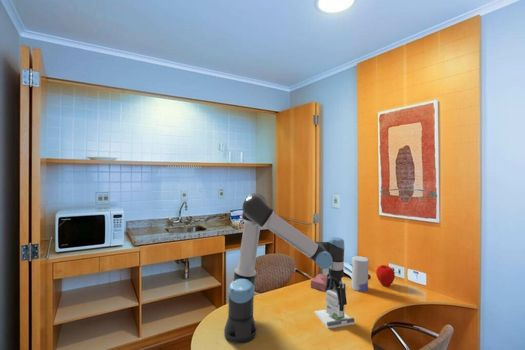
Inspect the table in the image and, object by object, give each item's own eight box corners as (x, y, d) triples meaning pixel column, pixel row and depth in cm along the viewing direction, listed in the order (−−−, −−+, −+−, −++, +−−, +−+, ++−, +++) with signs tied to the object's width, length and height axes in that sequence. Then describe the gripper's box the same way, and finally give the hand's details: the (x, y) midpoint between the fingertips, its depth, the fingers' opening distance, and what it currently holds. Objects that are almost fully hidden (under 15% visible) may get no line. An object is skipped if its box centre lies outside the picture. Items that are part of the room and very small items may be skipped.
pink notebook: (310, 288, 173) (310, 281, 173) (319, 280, 186) (319, 273, 185) (331, 294, 165) (331, 286, 165) (339, 286, 177) (339, 278, 177)
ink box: (344, 317, 135) (345, 294, 134) (338, 320, 132) (338, 297, 132) (331, 309, 142) (332, 288, 141) (325, 312, 139) (325, 290, 139)
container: (354, 283, 180) (355, 254, 180) (369, 287, 175) (370, 258, 174) (349, 289, 172) (350, 258, 172) (365, 293, 167) (366, 262, 166)
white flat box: (328, 328, 129) (328, 323, 129) (314, 313, 142) (314, 308, 142) (354, 324, 133) (354, 319, 133) (338, 309, 147) (339, 304, 146)
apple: (372, 281, 184) (372, 262, 184) (387, 281, 186) (388, 262, 185) (381, 289, 173) (382, 269, 172) (398, 289, 174) (399, 269, 173)
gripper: (355, 275, 127) (354, 322, 127) (331, 260, 148) (330, 299, 148) (341, 277, 125) (340, 324, 125) (319, 261, 146) (318, 301, 146)
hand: (334, 311), depth 137 cm, fingers closed on ink box, 9 cm apart
